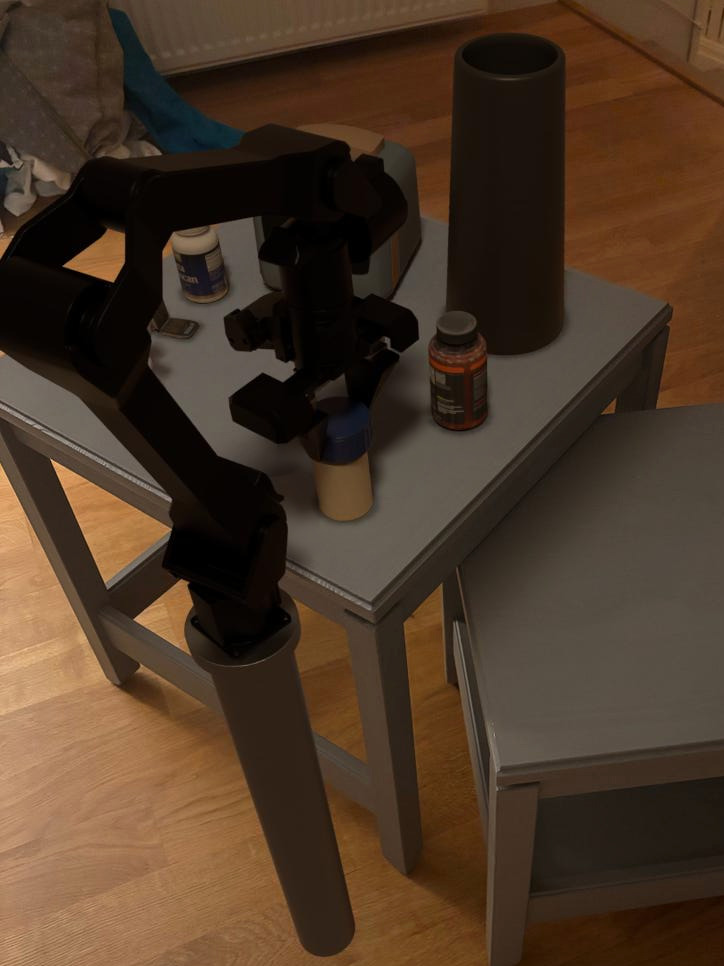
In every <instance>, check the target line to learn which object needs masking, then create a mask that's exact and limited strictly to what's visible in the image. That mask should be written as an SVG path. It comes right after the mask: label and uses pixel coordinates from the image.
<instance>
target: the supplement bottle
mask: <svg viewBox="0 0 724 966" xmlns="http://www.w3.org/2000/svg"><path fill="white" fill-rule="evenodd" d="M435 323H436V324H435V326H436V328H435V329H436V330H435V331H436V332H435V334H434V335H433V336H432V337H431V339H430V340H429V342H428V346H427V353H428V354H427V355H428V372H429V373H428V374H429V389H430V393H429V394H430V407H431V416H432V417H433V419H434V421H435V422H436V423H437V424H438V425H440V426H441V427H443V428H446V429H449V430H453V431H454V430H456V431H464V430H469V429H472V428H475V427H477V426H479V425H480V424H481V423H482V422H483V421H484V420H485V419H486V417H487V414H488V406H489V405H488V402H489V400H488V397H489V396H488V395H489V394H488V353H487V345H486V342H485V340H484V338H483V336H482V335H481V334H479V333H478V330H477V321H476V319H475V318H474V316H473V315H471V314H469V313H467V312H463V311H451V312H448V313H446V312H445V313H443V314H441V315H440V316H439V317H438V318H437V319H436V322H435Z"/></svg>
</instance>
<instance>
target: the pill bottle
mask: <svg viewBox="0 0 724 966" xmlns="http://www.w3.org/2000/svg"><path fill="white" fill-rule="evenodd" d="M170 246H171V250H172V255H173V258H174V262H175V266H176V270H177V274H178V278H179V281H180V286H181V290H182V293H183V295H184V297H185V298H186V299H188V300H189V301H191V302H194V303H199V304H209V303H213V302H216V301H218V300H220V299H222V298H223V297H225V296H226V295H227V293H228V291H229V281H228V276H227V272H226V267H225V261H224V257H223V252H222V247H221V243H220V239H219V235H218V232H217V231H216V229H215V228H214V227H213V226H212V225H209V226H204V227H199V228H193V229H188V230H183V231H177V232H173V234H172V235H171V237H170Z"/></svg>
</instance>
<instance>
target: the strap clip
mask: <svg viewBox="0 0 724 966" xmlns="http://www.w3.org/2000/svg"><path fill="white" fill-rule="evenodd" d="M169 317H170V314H169V312H168V308H167V306H166V303H165V300H164V297H163V298H162V302H161V304H160V306H159V307H158V309H157V311H156V313H155V315H154V316H153V318H152V320H151V322H150V326H151V332H153V331H155V330H158V331H159V332H160V333H161V334H162V336H167V337H171V338H178V339H187V338H190V337H192V336H193V334H194V333H195V331H197V329H198V328H199V325H200V324H199V322H197V321H196V320H191V319H184V318H177V317H170V318H169ZM188 326H190V327H191V326H192V327H191V328H190V330H189V332H188V333H184V332H185V331H186V329H187V328H188Z"/></svg>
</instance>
